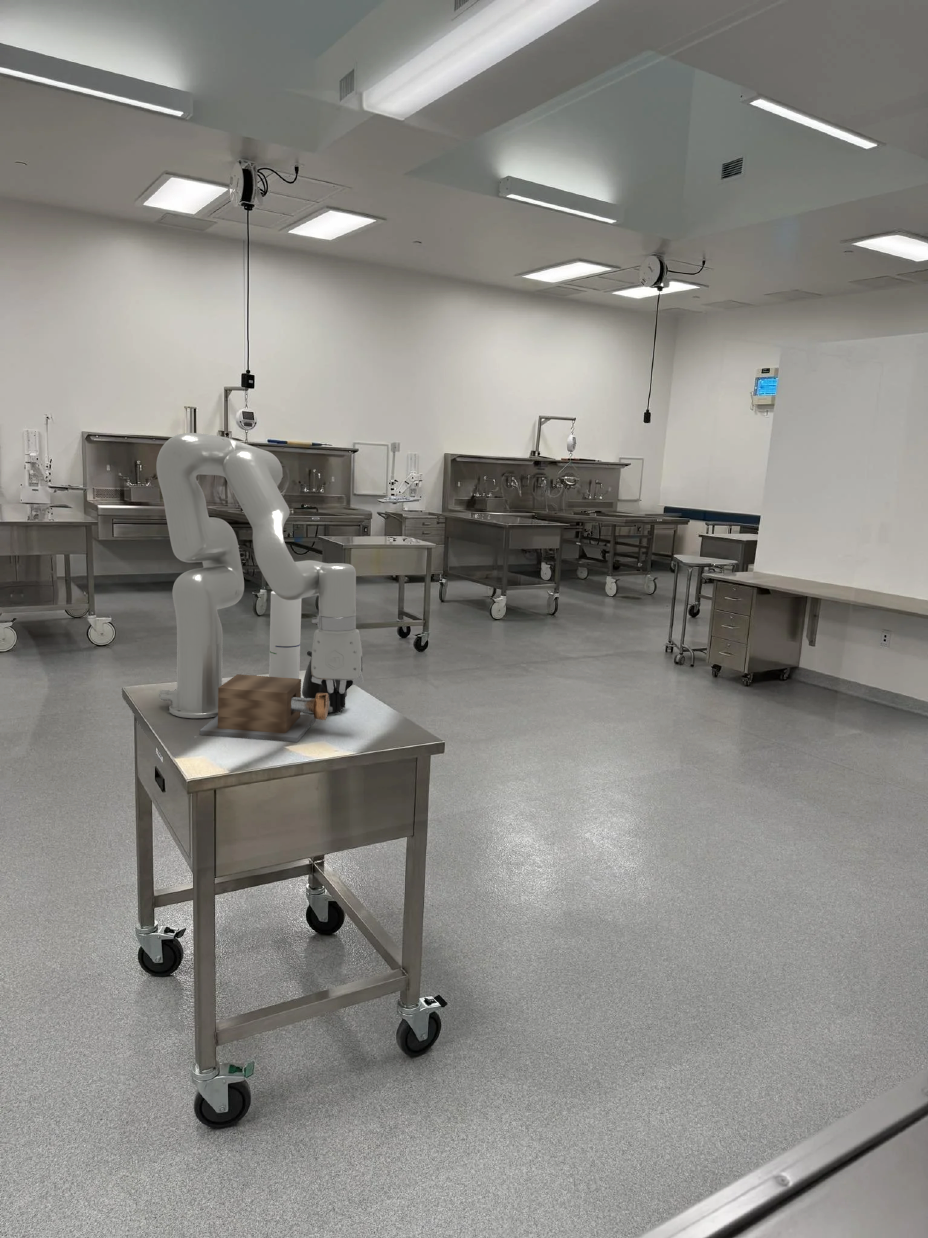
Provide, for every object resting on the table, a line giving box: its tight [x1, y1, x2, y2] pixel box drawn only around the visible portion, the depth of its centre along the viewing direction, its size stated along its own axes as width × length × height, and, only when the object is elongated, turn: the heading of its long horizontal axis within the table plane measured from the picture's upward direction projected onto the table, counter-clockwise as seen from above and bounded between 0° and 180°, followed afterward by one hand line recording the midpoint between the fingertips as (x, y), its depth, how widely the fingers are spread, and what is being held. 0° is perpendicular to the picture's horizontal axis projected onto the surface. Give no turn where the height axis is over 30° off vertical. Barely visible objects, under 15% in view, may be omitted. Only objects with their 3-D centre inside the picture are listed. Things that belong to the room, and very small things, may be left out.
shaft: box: [291, 693, 329, 721], centre depth 174 cm, size 20×6×6 cm, turn 87°
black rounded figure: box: [301, 650, 348, 714], centre depth 189 cm, size 10×10×15 cm
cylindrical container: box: [268, 590, 303, 679], centre depth 199 cm, size 7×7×25 cm
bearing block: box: [199, 673, 317, 743], centre depth 174 cm, size 20×16×10 cm
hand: (337, 710), depth 173 cm, fingers closed
